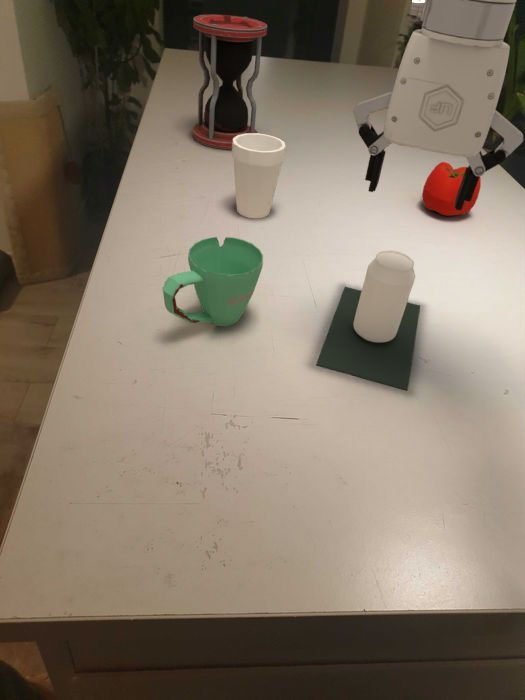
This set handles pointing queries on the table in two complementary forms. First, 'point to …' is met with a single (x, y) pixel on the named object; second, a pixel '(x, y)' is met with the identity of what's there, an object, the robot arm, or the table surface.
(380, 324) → the beverage can
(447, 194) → the tomato
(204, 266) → the mug
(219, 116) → the hourglass
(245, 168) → the foam cup
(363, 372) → the mat
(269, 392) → the table surface
